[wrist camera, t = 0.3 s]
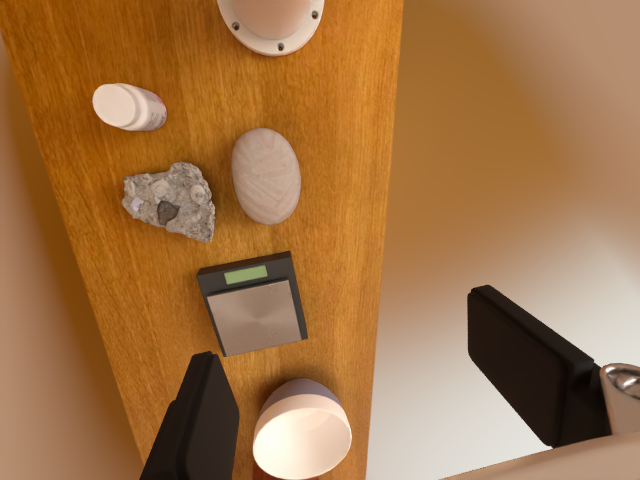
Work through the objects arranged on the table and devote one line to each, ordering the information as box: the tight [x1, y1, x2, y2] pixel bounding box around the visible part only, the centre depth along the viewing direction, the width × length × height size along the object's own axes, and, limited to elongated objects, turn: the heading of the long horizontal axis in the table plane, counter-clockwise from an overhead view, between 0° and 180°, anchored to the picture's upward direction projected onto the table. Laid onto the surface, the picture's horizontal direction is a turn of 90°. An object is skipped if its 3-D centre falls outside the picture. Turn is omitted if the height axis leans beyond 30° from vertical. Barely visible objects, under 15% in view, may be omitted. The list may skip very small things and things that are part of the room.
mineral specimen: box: [122, 161, 215, 242], centre depth 40 cm, size 6×11×12 cm
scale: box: [196, 251, 308, 357], centre depth 48 cm, size 15×14×3 cm
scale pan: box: [207, 278, 302, 357], centre depth 46 cm, size 11×12×1 cm
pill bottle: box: [93, 83, 167, 131], centre depth 34 cm, size 5×5×8 cm
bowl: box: [253, 378, 352, 480], centre depth 53 cm, size 16×16×10 cm
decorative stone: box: [231, 128, 301, 225], centre depth 40 cm, size 13×9×5 cm
